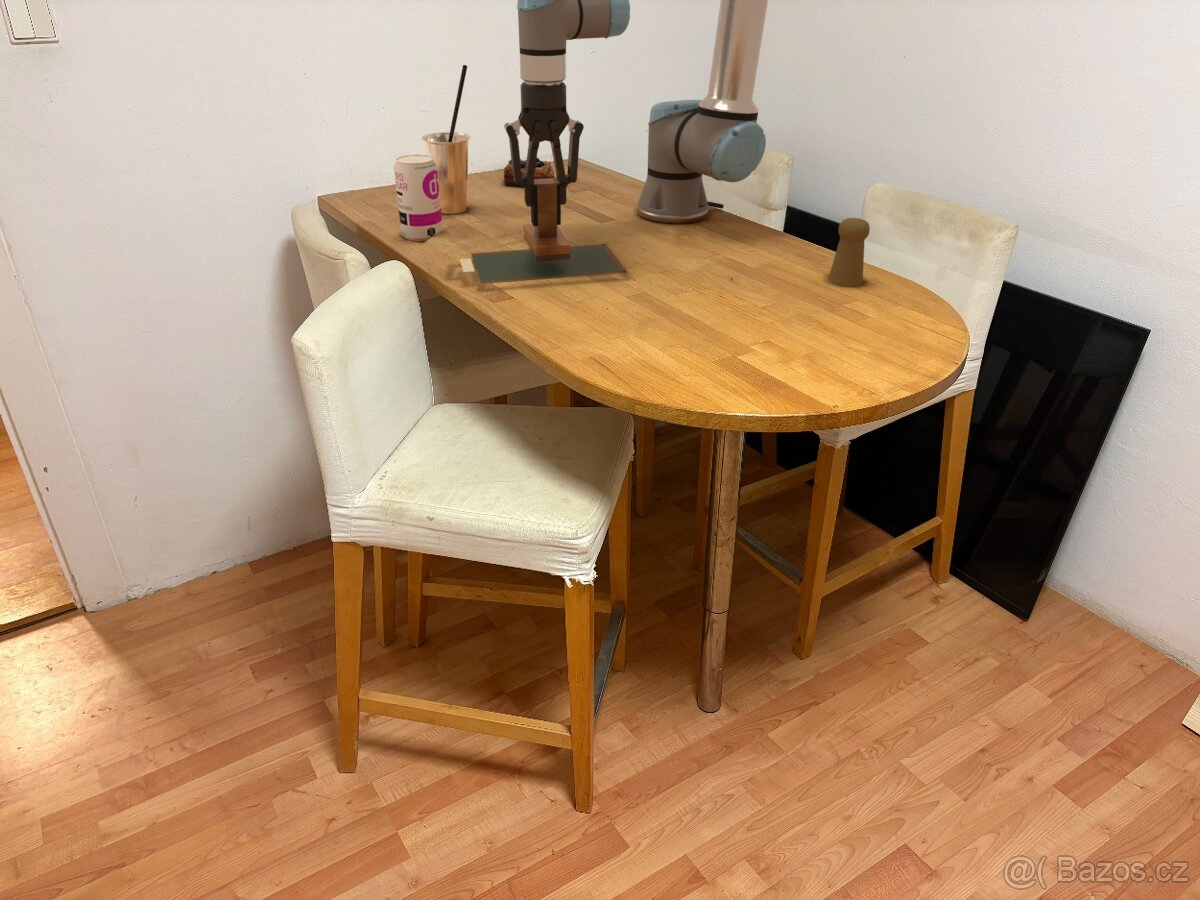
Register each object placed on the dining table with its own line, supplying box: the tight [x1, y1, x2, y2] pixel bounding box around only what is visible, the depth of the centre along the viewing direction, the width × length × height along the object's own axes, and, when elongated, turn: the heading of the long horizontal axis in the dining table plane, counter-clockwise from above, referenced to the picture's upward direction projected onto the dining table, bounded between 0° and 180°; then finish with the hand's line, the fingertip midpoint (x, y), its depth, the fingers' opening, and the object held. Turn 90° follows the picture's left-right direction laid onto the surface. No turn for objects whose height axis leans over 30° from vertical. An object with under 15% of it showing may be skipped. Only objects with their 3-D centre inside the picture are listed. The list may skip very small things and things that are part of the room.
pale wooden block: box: [459, 257, 476, 275], centre depth 155 cm, size 7×2×1 cm, turn 13°
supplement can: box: [393, 154, 444, 242], centre depth 169 cm, size 8×8×15 cm
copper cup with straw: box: [421, 64, 471, 215], centre depth 180 cm, size 11×11×30 cm
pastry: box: [503, 157, 555, 188], centre depth 207 cm, size 11×12×6 cm
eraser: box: [523, 177, 571, 262], centre depth 153 cm, size 6×13×12 cm, turn 14°
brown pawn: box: [827, 217, 871, 288], centre depth 152 cm, size 6×6×11 cm
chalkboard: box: [470, 243, 628, 285], centre depth 158 cm, size 26×16×1 cm, turn 104°
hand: (545, 223), depth 153 cm, fingers closed on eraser, 3 cm apart
